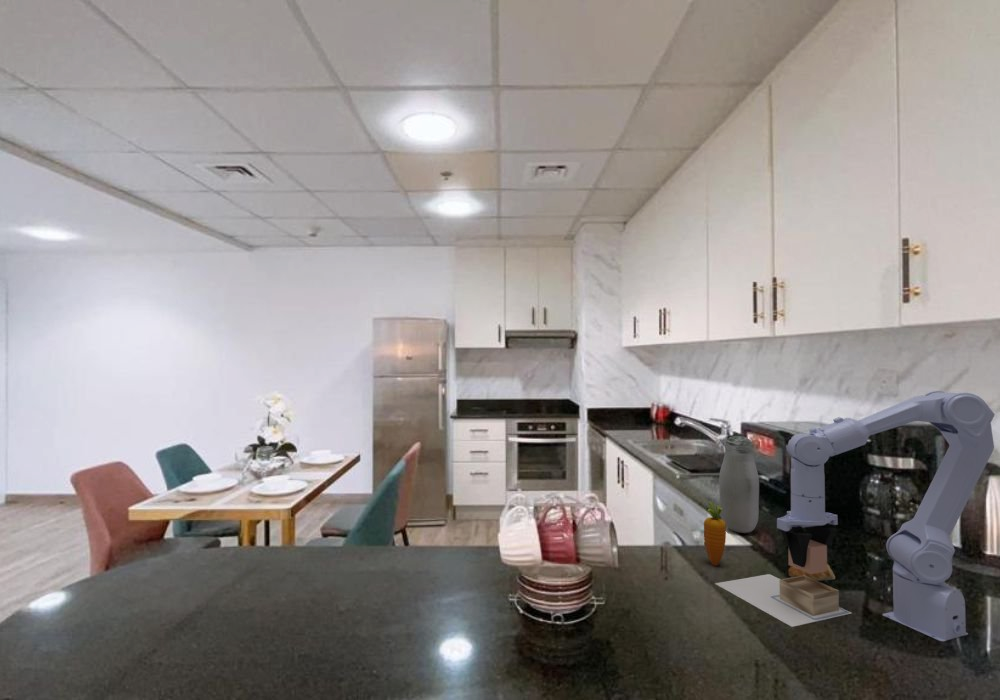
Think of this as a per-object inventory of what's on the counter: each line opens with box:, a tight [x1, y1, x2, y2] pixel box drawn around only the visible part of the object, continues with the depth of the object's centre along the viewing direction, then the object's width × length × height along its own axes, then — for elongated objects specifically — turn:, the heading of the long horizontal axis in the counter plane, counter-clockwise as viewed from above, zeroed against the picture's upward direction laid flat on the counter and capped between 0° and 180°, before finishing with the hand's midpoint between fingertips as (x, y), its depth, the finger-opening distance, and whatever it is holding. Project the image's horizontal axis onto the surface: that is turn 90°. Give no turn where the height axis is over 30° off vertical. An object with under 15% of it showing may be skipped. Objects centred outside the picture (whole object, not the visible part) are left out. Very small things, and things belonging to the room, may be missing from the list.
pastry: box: [788, 563, 836, 582], centre depth 106 cm, size 9×7×4 cm
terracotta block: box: [787, 540, 828, 574], centre depth 93 cm, size 5×5×5 cm
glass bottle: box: [718, 435, 760, 534], centre depth 138 cm, size 10×10×28 cm
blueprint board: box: [714, 573, 852, 628], centre depth 95 cm, size 18×16×1 cm
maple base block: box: [780, 576, 840, 616], centre depth 92 cm, size 7×7×4 cm
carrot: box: [703, 501, 727, 567], centre depth 111 cm, size 5×5×15 cm
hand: (808, 563), depth 93 cm, fingers closed on terracotta block, 5 cm apart
